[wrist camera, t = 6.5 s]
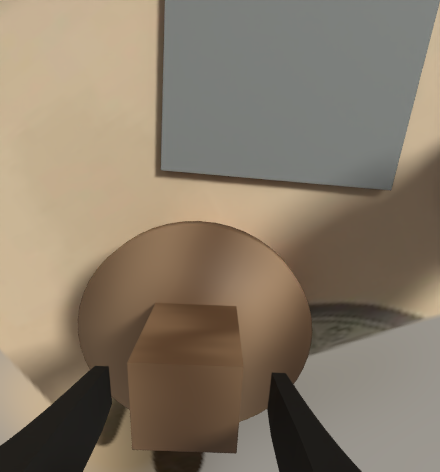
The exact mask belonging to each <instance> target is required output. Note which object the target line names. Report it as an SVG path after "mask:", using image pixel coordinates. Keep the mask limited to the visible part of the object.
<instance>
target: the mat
mask: <svg viewBox="0 0 440 472" xmlns="http://www.w3.org/2000/svg"><path fill="white" fill-rule="evenodd" d="M439 2H440V0H165V20H164V62H163V103H162V145H161V170H165V171H176V172H188V173H199V174H211V175H222V176H233V177H245V178H256V179H268V180H279V181H290V182H302V183H313V184H325V185H336V186H347V187H359V188H370V189H382V190H391V189H392V185H393V181H394V177H395V174H396V170H397V166H398V162H399V158H400V154H401V150H402V146H403V142H404V139H405V135H406V131H407V127H408V123H409V119H410V115H411V111H412V107H413V104H414V100H415V96H416V92H417V88H418V84H419V80H420V76H421V72H422V68H423V65H424V61H425V57H426V53H427V49H428V45H429V41H430V37H431V33H432V30H433V26H434V22H435V18H436V14H437V10H438V6H439Z"/></svg>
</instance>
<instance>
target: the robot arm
mask: <svg viewBox="0 0 440 472" xmlns="http://www.w3.org/2000/svg"><path fill="white" fill-rule="evenodd" d="M111 404H112V398H111V386H110V374H109V366H94V367H93V368H92V369H91V370H90V371H88V372H87V373H86V374H85V375H84V376H83V377H82V378H81V379H80V380H79V381H77V382H76V383H75V384H74V385H73V386H72V387H71V388H70V389H69V390H68V391H67V392H65V393H64V394H63V395H62V396H61V397H60V398H59V399H57V400H56V401H55V402H54V403H53V404H52V405H51V406H50V407H48V408H47V409H46V410H45V411H44V412H43V413H41V414H40V415H39V416H38V417H36V418H35V419H34V420H33V421H32V422H31V423H29V424H28V425H27V426H26V427H24V428H23V429H22V430H21V431H20V432H18V433H17V434H15V435H14V436H13V437H12V438H10V439H9V440H8V441H7V442H5V443H4V444H2V445H1V446H0V472H83V470H84V468H85V466H86V464H87V462H88V460H89V458H90V456H91V454H92V451H93V449H94V447H95V445H96V443H97V441H98V439H99V436H100V434H101V432H102V430H103V427H104V424H105V422H106V419H107V416H108V413H109V410H110V407H111ZM267 410H268V417H269V425H270V432H271V438H272V442H273V447H274V451H275V455H276V459H277V464H278V468H279V472H361V470H360V469H359V468H358V467H357V466H356V465H355V464H354V463H353V462H352V461H351V459H350V458H349V457H348V456H347V455H346V454H345V453H344V451H343V450H342V449H341V448H340V447H339V446H338V444H337V443H336V442H335V441H334V440H333V438H332V437H331V436H330V435H329V433H328V432H327V431H326V430H325V428H324V427H323V426H322V424H321V423H320V422H319V420H318V419H317V418H316V416H315V415H314V414H313V412H312V411H311V409H310V408H309V407H308V406H307V404H306V402H305V401H304V400H303V398H302V397H301V395H300V394H299V392H298V391H297V389H296V388H295V386H294V385H293V383H292V381H291V380H290V378H289V377H288V375H287V374H286V373H273V372H272V375H271V383H270V391H269V400H268V408H267Z"/></svg>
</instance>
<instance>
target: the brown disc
mask: <svg viewBox="0 0 440 472" xmlns="http://www.w3.org/2000/svg"><path fill="white" fill-rule="evenodd" d="M78 335H79V340H80V345H81V349H82V352H83V355H84V358H85V361H86V363H87V365H88V366H89V368H90V370H91V369H92V368H93V367H94V366H109V374H110V386H111V396H112V397H113V398H114V399H115V400H116V401H118V402H119V403H120V404H122V405H123V406H125V407H126V408H128V409H129V410H130V418H131V435H132V449H133V450H154V451H183V452H213V453H236V452H237V440H238V428H239V422H240V421H243V420H246V419H248V418H250V417H253V416H255V415H257V414H259V413H261V412H262V411H264V410H265V409H267V408H268V400H269V391H270V383H271V375H272V372H273V373H286V374H287V375H288V377H289V378H290V380H291V381H292V383H293V384H294V383H295V381H296V380H297V378H298V377H299V375H300V373H301V371H302V370H303V368H304V365H305V362H306V360H307V358H308V355H309V350H310V346H311V339H312V320H311V313H310V309H309V305H308V302H307V299H306V296H305V294H304V291H303V289H302V288H301V286H300V284H299V282H298V280H297V279H296V277H295V276H294V274H293V273H292V271H291V270H290V269H289V267H288V266H287V265H286V263H285V262H284V261H283V260H282V258H281V257H280V256H279V255H278V254H276V253H275V252H274V251H273V250H272V249H271V248H270V247H269V246H267V245H266V244H264V243H263V242H262V241H260V240H259V239H257V238H255V237H253V236H252V235H250V234H248V233H246V232H244V231H241V230H238V229H236V228H233V227H230V226H226V225H222V224H218V223H211V222H202V221H185V222H177V223H171V224H166V225H163V226H159V227H156V228H152V229H150V230H148V231H146V232H143V233H141V234H139V235H137V236H136V237H134V238H132V239H131V240H129V241H128V242H126V243H125V244H124V245H122V246H121V247H120V248H119V249H117V250H116V251H115V252H114V253H113V254H111V255H110V256H109V257H108V258H107V259H106V260H105V261H104V262H103V263H102V264H101V265H100V266H99V268H98V269H97V270H96V272H95V273H94V275H93V276H92V278H91V279H90V281H89V283H88V285H87V287H86V289H85V291H84V294H83V297H82V300H81V304H80V308H79V316H78Z"/></svg>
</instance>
